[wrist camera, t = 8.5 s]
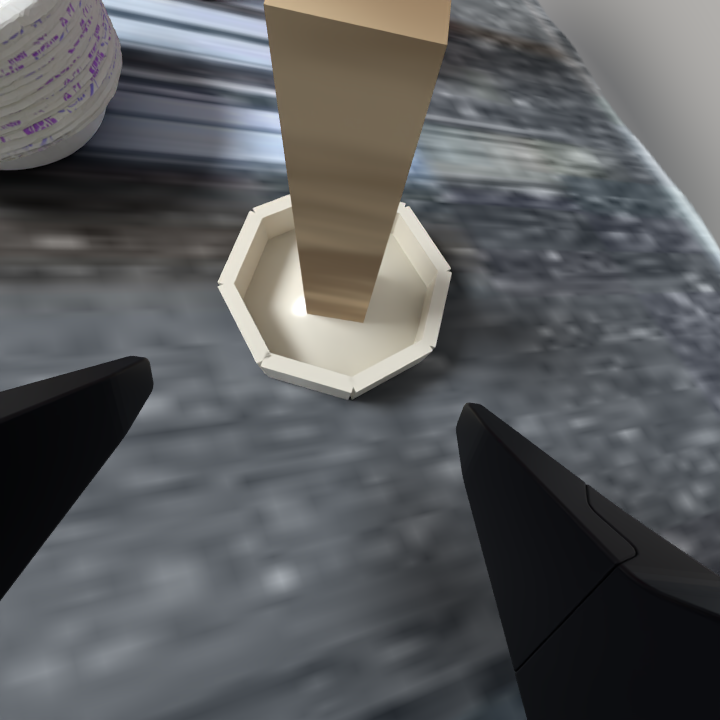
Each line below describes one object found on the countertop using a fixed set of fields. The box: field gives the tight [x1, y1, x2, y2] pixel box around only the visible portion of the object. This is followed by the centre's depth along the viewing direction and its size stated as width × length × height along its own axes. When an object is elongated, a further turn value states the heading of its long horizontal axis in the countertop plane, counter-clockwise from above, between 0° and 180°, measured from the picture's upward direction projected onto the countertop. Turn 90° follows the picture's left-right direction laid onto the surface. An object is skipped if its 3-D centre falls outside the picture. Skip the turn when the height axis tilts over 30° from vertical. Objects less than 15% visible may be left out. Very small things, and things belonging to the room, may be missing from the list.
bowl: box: [218, 195, 452, 400], centre depth 19 cm, size 12×12×2 cm
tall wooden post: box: [264, 0, 451, 323], centre depth 13 cm, size 3×3×14 cm
